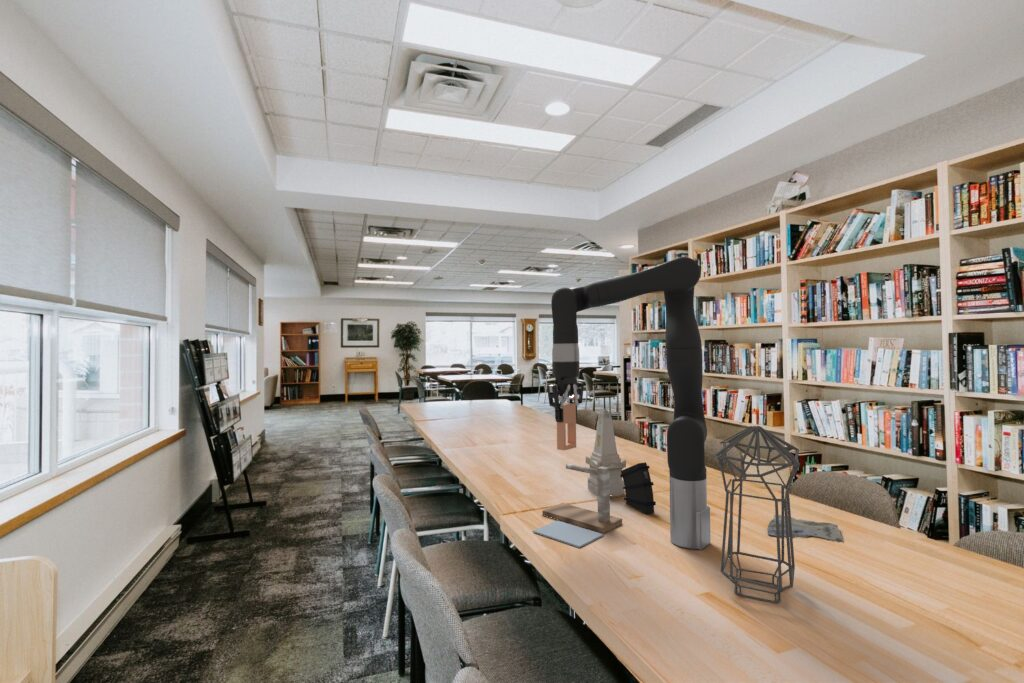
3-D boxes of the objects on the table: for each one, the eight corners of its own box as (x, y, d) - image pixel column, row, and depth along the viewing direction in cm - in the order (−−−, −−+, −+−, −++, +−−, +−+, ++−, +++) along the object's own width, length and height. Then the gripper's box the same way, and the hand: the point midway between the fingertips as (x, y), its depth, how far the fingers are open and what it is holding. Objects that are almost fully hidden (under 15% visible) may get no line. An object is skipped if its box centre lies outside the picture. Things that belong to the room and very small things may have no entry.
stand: (622, 523, 142) (621, 466, 143) (603, 533, 135) (602, 472, 135) (562, 507, 157) (561, 455, 158) (542, 515, 150) (541, 460, 150)
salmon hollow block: (576, 447, 136) (575, 403, 137) (564, 450, 132) (563, 405, 132) (569, 446, 138) (568, 403, 138) (557, 449, 134) (556, 405, 134)
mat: (603, 536, 133) (603, 534, 133) (579, 548, 125) (579, 546, 125) (557, 522, 144) (557, 520, 144) (532, 532, 136) (532, 530, 136)
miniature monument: (586, 489, 178) (585, 407, 178) (611, 486, 181) (610, 405, 181) (599, 497, 168) (598, 410, 168) (626, 494, 171) (625, 409, 171)
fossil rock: (836, 529, 138) (836, 521, 138) (845, 549, 125) (845, 540, 125) (766, 520, 146) (766, 512, 146) (768, 538, 132) (767, 529, 132)
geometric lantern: (799, 584, 105) (799, 423, 105) (800, 621, 92) (799, 436, 91) (721, 567, 113) (720, 417, 113) (710, 599, 100) (710, 429, 99)
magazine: (652, 512, 147) (638, 463, 153) (628, 519, 158) (616, 472, 164) (662, 510, 148) (648, 461, 155) (638, 517, 159) (625, 471, 165)
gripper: (560, 360, 128) (561, 425, 127) (591, 359, 138) (592, 419, 138) (538, 360, 133) (539, 422, 133) (570, 359, 143) (571, 416, 143)
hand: (566, 420), depth 135 cm, fingers closed on salmon hollow block, 5 cm apart
